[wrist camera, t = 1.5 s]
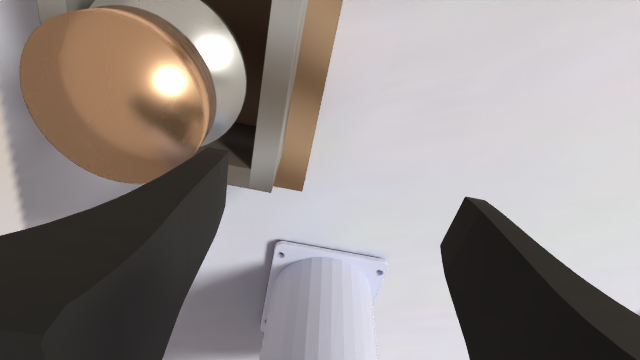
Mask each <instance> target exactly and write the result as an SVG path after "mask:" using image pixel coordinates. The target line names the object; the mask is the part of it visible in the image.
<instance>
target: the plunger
mask: <svg viewBox="0 0 640 360" xmlns="http://www.w3.org/2000/svg"><path fill="white" fill-rule="evenodd" d="M20 84H21V90H22V93H23V97H24V101H25V103H26V105H27V108H28V110H29V112H30V114H31V116H32V118H33V120H34V122H35V123H36V125H37V126H38V128H39V129H40V131H41V132H42V133H43V135H44V136H45V137H46V138H47V139H48V140H49V142H50V143H51V144H52V145H53V146H54V147H55V148H56V149H57V150H58V151H60V152H61V153H62V154H63V155H64V156H66V157H67V158H68V159H69V160H71V161H72V162H74V163H75V164H77V165H78V166H80V167H82V168H83V169H85V170H87V171H89V172H91V173H93V174H96V175H98V176H101V177H103V178H106V179H109V180H114V181H118V182H124V183H137V184H141V183H148V182H150V181H152V180H154V179H156V178H158V177H160V176H162V175H163V174H165V173H167V172H169V171H170V170H172V169H174V168H175V167H177V166H179V165H180V164H182V163H183V162H185V161H187V160H188V159H190V158H191V157H193V155H194V154H195V153H196V151H197V150H198V149H199V147H201V146H204V145H207V144H209V143H211V142H213V141H215V140H217V139H218V138H219V137H221V136H222V135H223V134H225V133H226V132H227V131H228V130H229V128H230V127H231V126H232V125H233V123H234V122H235V120H236V119H237V117H238V116H239V114H240V112H241V110H242V107H243V104H244V101H245V97H246V91H247V73H246V66H245V61H244V57H243V54H242V52H241V49H240V46H239V44H238V42H237V40H236V38H235V36H234V34H233V33H232V31H231V30H230V28H229V26H228V25H227V24H226V23H225V21H224V20H223V19H222V18H221V16H220V15H219V14H218V13H217V12H216V11H215V10H214V9H213V8H212V7H211V6H209V5H208V4H207V3H206V2H204V1H203V0H95V1H94V2H93V3H92V5H91V6H90V7H89V8H88V9H83V10H77V11H72V12H67V13H64V14H60V15H57V16H55V17H53V18H51V19H49V20H47V21H45V22H44V23H43V24H42V25H40V26H39V27H38V28H37V29H36V30H35V31H34V32H33V33H32V35H31V36H30V37H29V39H28V41H27V43H26V44H25V47H24V49H23V52H22V55H21V61H20Z"/></svg>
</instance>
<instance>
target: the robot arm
mask: <svg viewBox="0 0 640 360" xmlns="http://www.w3.org/2000/svg"><path fill="white" fill-rule="evenodd" d="M228 163H229V151H227V150H222V149H216V148H211V147H208V148H206V149H204V150H203V151H201V152H199V153H198V154H196V155H195V156H193V157H191V158H190V159H188V160H187V161H185V162H183V163H182V164H180V165H179V166H177V167H175V168H174V169H172V170H170V171H169V172H167V173H165V174H163V175H162V176H160V177H158V178H156V179H154V180H152V181H150V182H148V183H147V184H145V185H143V186H141V187H139V188H137V189H135V190H133V191H131V192H129V193H127V194H125V195H122V196H120V197H118V198H116V199H113V200H111V201H109V202H106V203H104V204H101V205H99V206H96V207H94V208H91V209H88V210H85V211H82V212H79V213H76V214H73V215H70V216H67V217H64V218H62V219H59V220H56V221H53V222H50V223H46V224H43V225H39V226H36V227H32V228H29V229H25V230H21V231H17V232H13V233H10V234H6V235H1V236H0V360H162V358H163V356H164V353H165V350H166V347H167V344H168V341H169V339H170V336H171V333H172V330H173V328H174V325H175V322H176V319H177V317H178V314H179V311H180V309H181V307H182V304H183V302H184V300H185V297H186V295H187V293H188V291H189V289H190V287H191V285H192V283H193V281H194V279H195V277H196V275H197V273H198V271H199V268H200V266H201V264H202V262H203V260H204V258H205V256H206V254H207V252H208V250H209V248H210V246H211V244H212V242H213V239H214V237H215V235H216V233H217V230H218V227H219V224H220V221H221V218H222V215H223V212H224V208H225V202H226V189H227V176H228ZM440 248H441V255H442V263H443V268H444V274H445V278H446V281H447V285H448V288H449V291H450V295H451V298H452V301H453V304H454V307H455V311H456V314H457V317H458V320H459V323H460V326H461V330H462V333H463V336H464V339H465V342H466V346H467V350H468V354H469V358H470V360H640V316H639V315H637V314H635V313H634V312H632V311H630V310H629V309H627V308H626V307H624V306H623V305H621V304H619V303H618V302H616V301H615V300H613V299H612V298H610V297H609V296H607V295H606V294H604V293H603V292H601V291H600V290H599V289H597V288H596V287H594V286H593V285H591V284H590V283H588V282H587V281H586V280H584V279H583V278H581V277H580V276H579V275H577V274H576V273H575V272H573V271H572V270H571V269H569V268H568V267H567V266H566V265H564V264H563V263H562V262H560V261H559V260H558V259H556V258H555V257H554V256H553V255H551V254H550V253H549V252H548V251H547V250H545V249H544V248H543V247H542V246H540V245H539V244H538V243H537V242H536V241H534V240H533V239H532V238H531V237H530V236H528V235H527V234H526V233H525V232H524V231H523V230H521V229H520V228H519V227H518V226H517V225H515V224H514V223H513V222H512V221H511V220H510V219H508V218H507V217H506V216H505V215H504V214H502V213H501V212H500V211H499V210H497V209H496V208H495V207H493V206H492V205H491V204H489V203H488V202H486V201H485V200H480V199H475V198H470V197H465V198H464V200H463V202H462V204H461V206H460V208H459V210H458V212H457V214H456V216H455V218H454V220H453V222H452V224H451V226H450V227H449V229H448V231H447V233H446V235H445V237H444V239H443V241H442V243H441V245H440ZM279 252H282V253H283V254H279ZM388 267H389V266H388V262H387V261H386V260H385V259H381V258H375V257H370V256H364V255H359V254H353V253H348V252H342V251H336V250H331V249H325V248H320V247H314V246H309V245H303V244H298V243H292V242H287V241H279V242H277V243H276V245H275V249H274V254H273V260H272V265H271V270H270V276H269V281H268V287H267V292H266V298H265V303H264V308H263V314H262V319H261V325H260V330H261V332H263V333H264V337H263V342H262V347H261V353H260V358H259V360H378V351H377V342H376V332H375V323H374V314H373V305H374V303H375V300H376V298H377V295H378V293H379V290H380V288H381V285H382V283H383V280H384V278H385V275H386V273H387V270H388ZM378 270H382V271H378Z"/></svg>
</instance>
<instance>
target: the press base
mask: <svg viewBox="0 0 640 360" xmlns="http://www.w3.org/2000/svg"><path fill="white" fill-rule="evenodd" d="M94 1H95V0H37V6H38V12H39V18H40V24H41V25H42V24H43V23H44V22H45V21H47V20H49V19H51V18H53V17H55V16H57V15H60V14H64V13H67V12H72V11H77V10H83V9H88V8H89V7H90V6H91V5H92V3H93V2H94ZM203 1H204V2H206V3H207V4H208V5H209V6H211V7H212V8H213V9H214V10H215V11H216V12H217V13H218V14H219V15H220V16H221V18H222V19H223V20H224V21H225V23H226V24H227V25H228V26H229V28H230V30H231V31H232V33H233V34H234V36H235V38H236V40H237V42H238V44H239V46H240V49H241V52H242V54H243V57H244V61H245V66H246V73H247V91H246V97H245V101H244V104H243V107H242V110H241V112H240V114H239V116H238V117H237V119H236V120H235V122H234V123H233V125H232V126H231V127H230V128H229V130H228V131H227V132H226V133H225V134H223V135H222V136H221V137H219V138H218V139H217V140H215V141H213V142H211V143H209V144H207V145H204V146H201V147H199V149H198V150H197V151H196V153H195V154H194V155H193V156H195V155H196V154H198V153H199V152H201V151H203V150H204V149H206V148H208V147H211V148H216V149H222V150H227V151H229V163H228V176H227V185H232V186H238V187H243V188H248V189H254V190H259V191H264V192H269V193H271V191H272V188H273V186H276V187H281V188H286V189H292V190H297V191H302V190H303V185H304V181H305V176H306V171H307V166H308V162H309V157H310V152H311V148H312V143H313V138H314V133H315V129H316V124H317V119H318V115H319V110H320V105H321V100H322V96H323V91H324V86H325V82H326V77H327V72H328V67H329V63H330V58H331V53H332V49H333V44H334V39H335V34H336V30H337V25H338V20H339V16H340V11H341V6H342V1H343V0H203Z"/></svg>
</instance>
